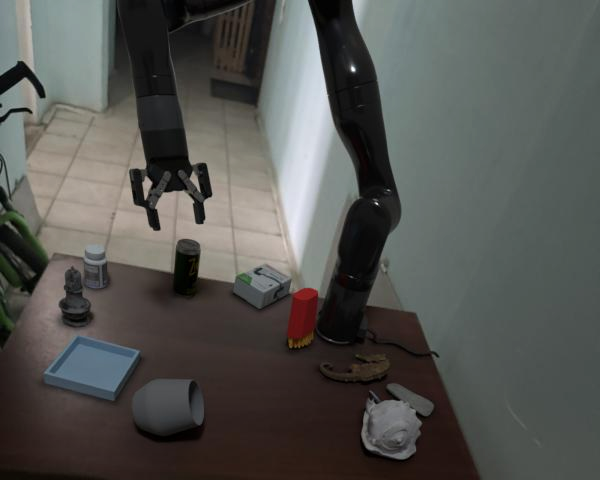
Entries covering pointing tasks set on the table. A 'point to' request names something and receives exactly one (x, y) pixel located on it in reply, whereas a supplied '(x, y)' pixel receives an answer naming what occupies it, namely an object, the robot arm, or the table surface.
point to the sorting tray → (93, 367)
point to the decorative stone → (411, 399)
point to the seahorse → (361, 369)
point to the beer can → (186, 268)
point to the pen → (375, 397)
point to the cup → (168, 406)
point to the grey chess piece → (74, 301)
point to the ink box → (262, 285)
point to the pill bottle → (95, 266)
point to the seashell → (390, 429)
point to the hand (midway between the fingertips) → (179, 227)
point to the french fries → (302, 317)
